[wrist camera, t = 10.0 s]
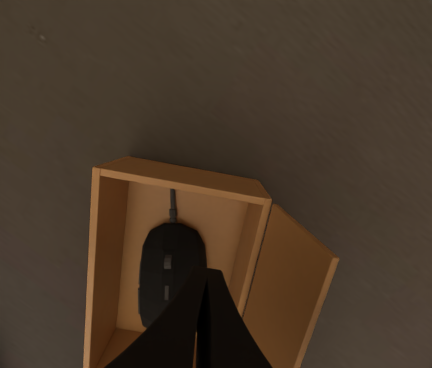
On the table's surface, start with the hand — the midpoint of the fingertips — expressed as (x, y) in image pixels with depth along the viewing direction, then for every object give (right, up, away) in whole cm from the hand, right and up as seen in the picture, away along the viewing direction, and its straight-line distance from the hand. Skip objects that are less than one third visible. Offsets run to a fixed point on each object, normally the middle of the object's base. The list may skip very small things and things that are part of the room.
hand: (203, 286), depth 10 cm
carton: (-3, -3, +12) cm, 12 cm away
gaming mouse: (-3, -3, +11) cm, 12 cm away
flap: (+3, -6, +3) cm, 7 cm away
